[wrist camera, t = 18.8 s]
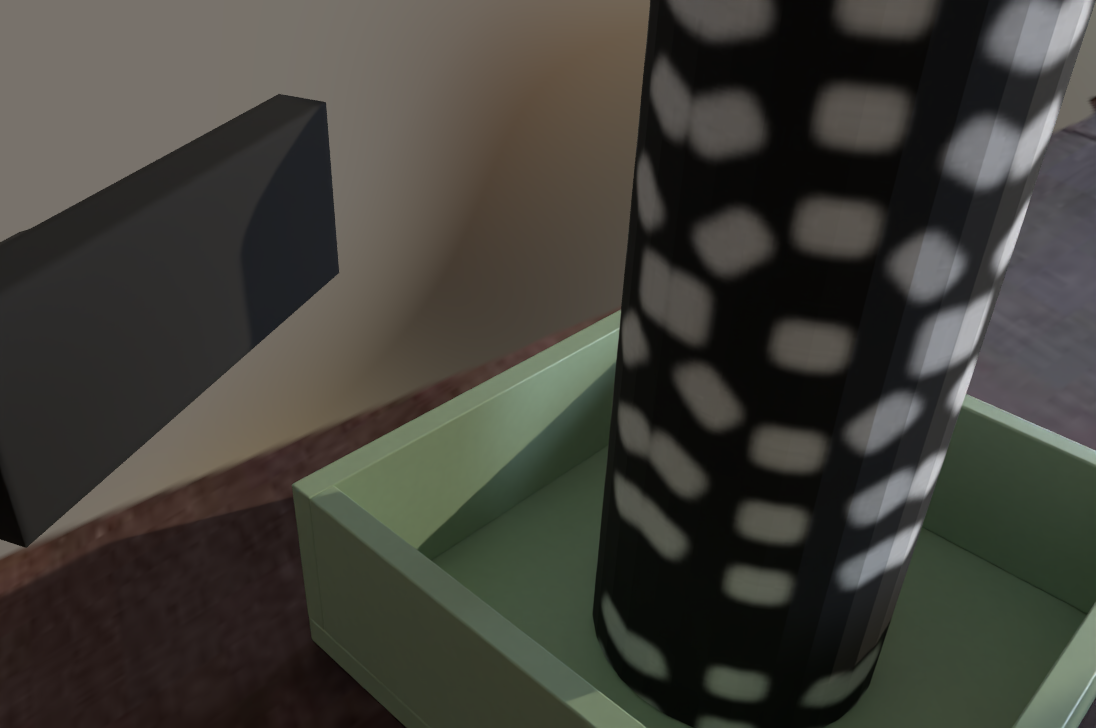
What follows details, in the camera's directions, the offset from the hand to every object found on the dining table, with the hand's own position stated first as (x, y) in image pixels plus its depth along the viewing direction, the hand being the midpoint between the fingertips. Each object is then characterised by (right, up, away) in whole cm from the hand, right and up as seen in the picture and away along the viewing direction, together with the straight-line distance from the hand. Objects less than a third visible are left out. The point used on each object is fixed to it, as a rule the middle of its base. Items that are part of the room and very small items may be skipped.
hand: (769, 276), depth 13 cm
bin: (+3, -10, +17) cm, 20 cm away
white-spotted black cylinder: (+3, -9, +17) cm, 19 cm away
